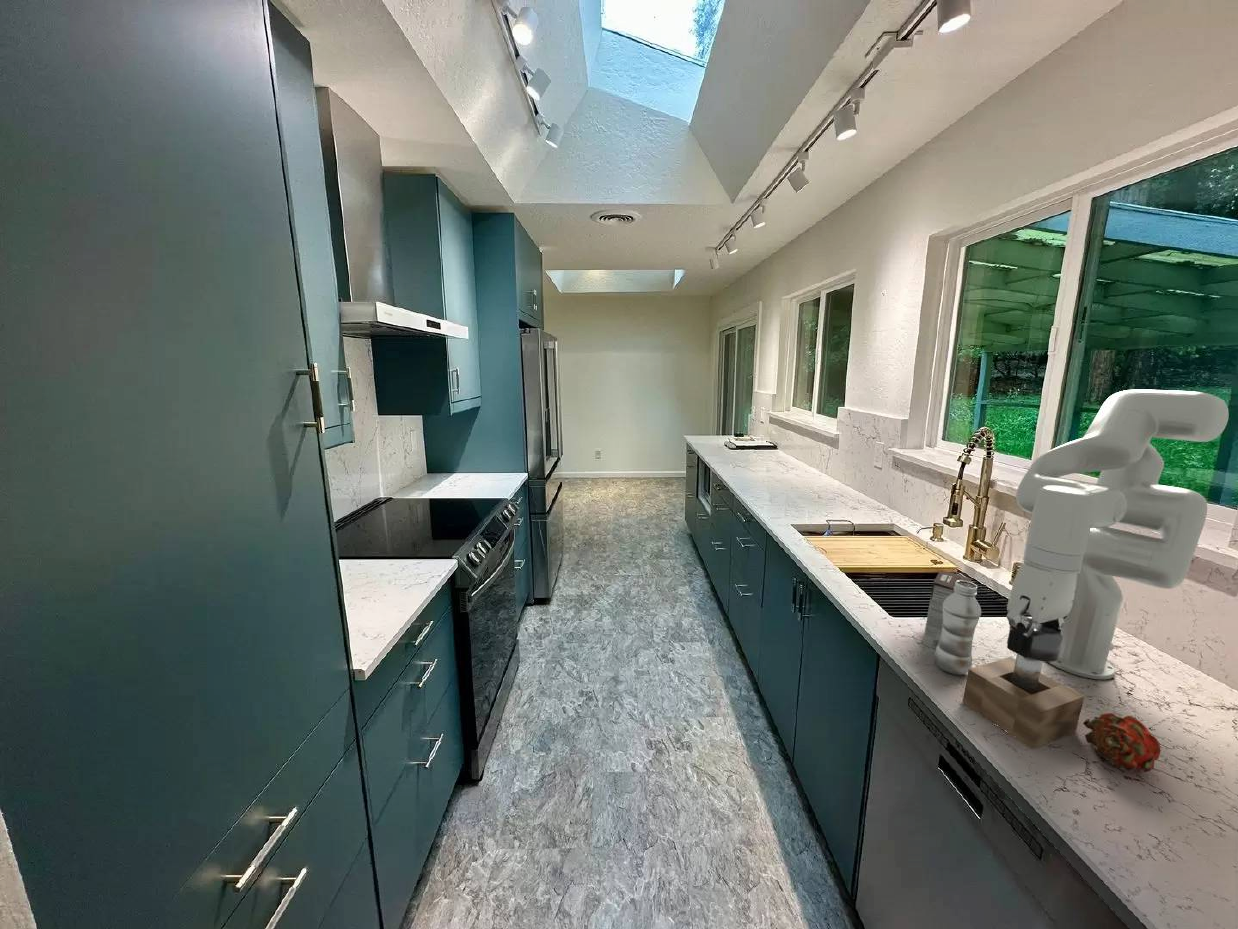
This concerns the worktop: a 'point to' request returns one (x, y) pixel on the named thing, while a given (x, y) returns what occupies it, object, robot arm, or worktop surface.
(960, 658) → the plastic bottle
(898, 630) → the worktop surface
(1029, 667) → the grey metal cylinder
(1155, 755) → the dragon fruit
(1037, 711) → the hitch block
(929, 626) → the coffee box
